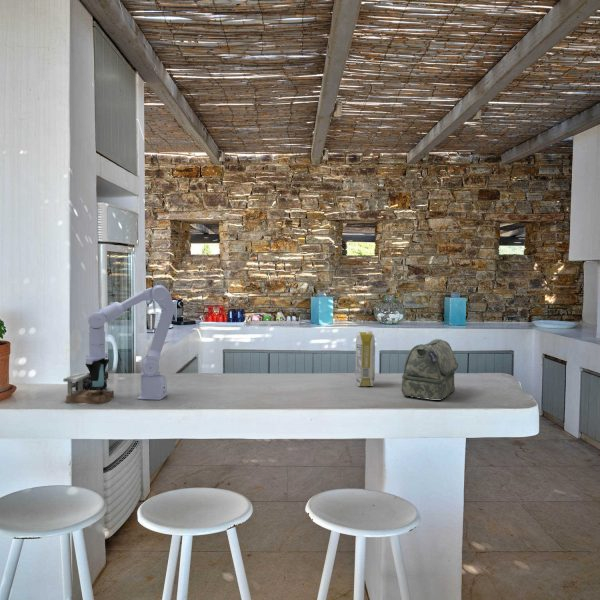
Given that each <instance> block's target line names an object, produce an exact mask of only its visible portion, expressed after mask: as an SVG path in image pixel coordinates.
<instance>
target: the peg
mask: <svg viewBox="0 0 600 600" xmlns="http://www.w3.org/2000/svg"><path fill="white" fill-rule="evenodd" d="M92 383H93V387H101V386H104V373H103V364H101V367H100V370H99V379H98V381H92Z"/></svg>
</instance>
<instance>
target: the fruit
mask: <svg viewBox="0 0 600 600" xmlns="http://www.w3.org/2000/svg"><path fill="white" fill-rule="evenodd" d="M86 374H89V377H86V378H84V379H83V390H96V391H104V390H106V389H107V388H108V384H107V383H108V381H109V380H110V378H109V372H108V371H105V374H104V386H101V387H93V383H92V379H91V375H90V372H87V373H86ZM72 388H73V389H75V392H76V391H78V381H77V382H72Z"/></svg>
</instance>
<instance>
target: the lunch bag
mask: <svg viewBox="0 0 600 600" xmlns="http://www.w3.org/2000/svg"><path fill="white" fill-rule="evenodd" d="M458 367H459V363H458V361H457V358H456V355H455V353H454V351H453V349H452V346H451V344H449V342H447V341H446V340H443V339H437V338H436V339H432V340H431V341H430V342H428V343H425V344H424V343H423V344H422V343H421V344H420V343H419V344H417V345H415V346H414V347H412V348H411V349H410V351H409V353H408V354H407V356H406V360H405V362H404V367H403V374H402V375H401V393H402V395H404V396H405V395H406V397H408V396H413V397H420V398H429V399H442V398H445V397H446V396H447V397H448V396H450V395H451V394H452V393H453V392H455V390H456V386H455V372H456V371H457V370H458ZM451 392H452V393H451ZM450 393H451V394H450ZM413 397H412V398H413ZM447 397H446V398H447ZM446 398H445V399H446Z"/></svg>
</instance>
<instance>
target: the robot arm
mask: <svg viewBox="0 0 600 600" xmlns="http://www.w3.org/2000/svg"><path fill="white" fill-rule="evenodd" d="M152 300H153V301H155V302H156V303H157V304H158V306H159V307H160V309H161V314H160V316H159V320H158V323H157V325H156V327H155V332H154V334H153V337H152V340H151V343H150V347H149V349H148V351H147V354H146V356H145V357H144V358H143V359H142V362H141V370H142V372H141V373H140V395H139V396H138V397H136V399H137V400H157V401H158V400H159V401H161V400H162V399H164V398H165V397H166V396H168V393H167V389H168V388H167V387H168V386H167V384H168V383H167V381H168V380H167V377H166V375H162V374H161V373H160V371H159V368H160V367H159V362H160V359H161V353H162V350H163V348H164V344H165V342H166V338H167V335H168V333H169V329H170V326H171V324H172V323H171V322H172V320H173V317H174V314H175V311H176V308H175V304H174V301H173V298H172V294H171V292H169V290H168V289H167V287H166V286H164V285H163V284H156V285H154V286H153V287H149V288H145V289H143V290H140V291H139V292H138V293H136V294H133V295H132V296H131V297H129V298H126V300H123V301H122V302H118V301H114V302H113V301H111V302H109V303H108V304H109V305H107V306H105V307H102V308H99V309H97V311H95V312H93V313H91V315H90V316H88V324H89V327H88V330H89V332H88V344H89V345H88V347H89V349H88V352H89V353H88V354H87V355H86V358H85V366H86V368H87V369H88V371H89V372H88V373H90V375H91V379H92V381H98V379H99V370H100V367H101V364H103V373H104V374H105V372H106V369H107V366H108V364H109V362H110V359H109V352H106V331H105V324H107V323H110V322H112V321H115V320H117V319H118V318H121V317H122V316H124V314H125V311H126V310H128V309H129V308H132V307H133V306H135V305H138V304H140V303H141V302H143V301H146V302H147V301H148V302H149V301H150V302H151V301H152Z"/></svg>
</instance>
